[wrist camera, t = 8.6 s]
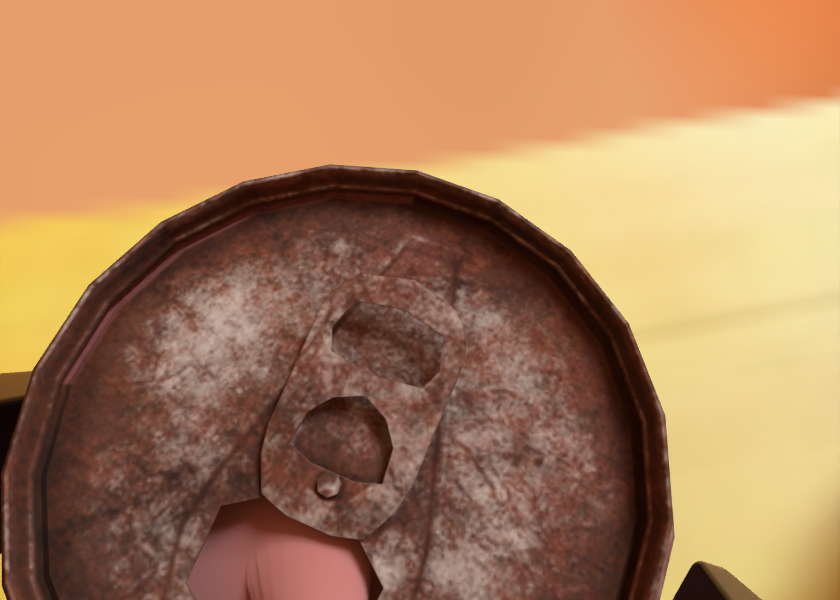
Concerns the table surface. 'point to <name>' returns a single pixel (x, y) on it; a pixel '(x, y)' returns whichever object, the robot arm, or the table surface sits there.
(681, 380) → the table surface
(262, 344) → the can
